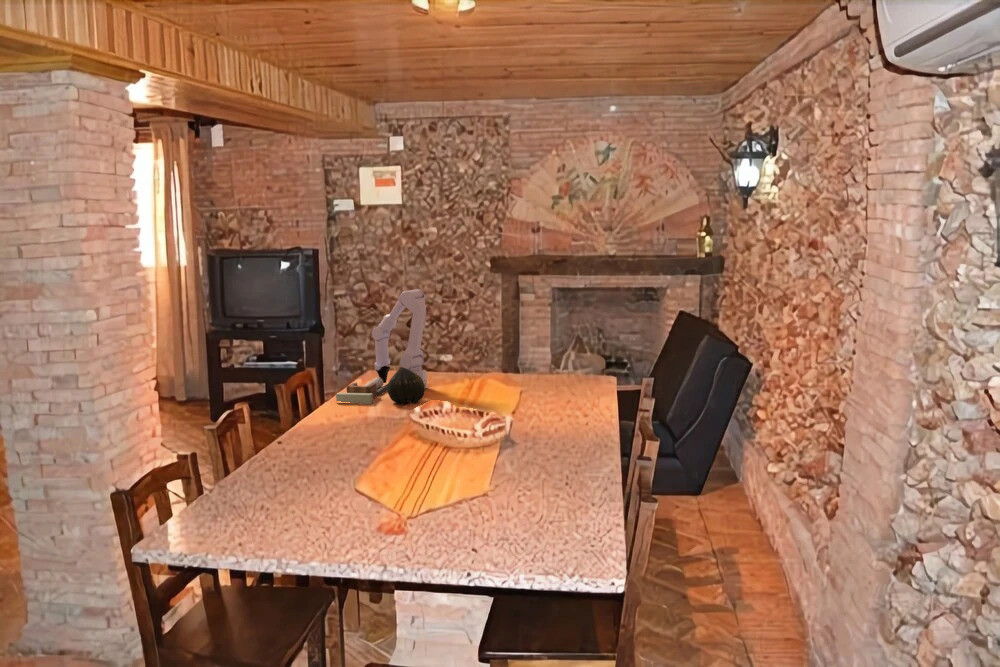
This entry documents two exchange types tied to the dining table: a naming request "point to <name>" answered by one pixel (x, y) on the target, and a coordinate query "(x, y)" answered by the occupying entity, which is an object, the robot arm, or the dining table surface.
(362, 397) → the wall
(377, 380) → the tube
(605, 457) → the dining table surface
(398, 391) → the squash
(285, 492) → the dining table surface
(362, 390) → the socket block
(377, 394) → the guide rails
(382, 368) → the robot arm
